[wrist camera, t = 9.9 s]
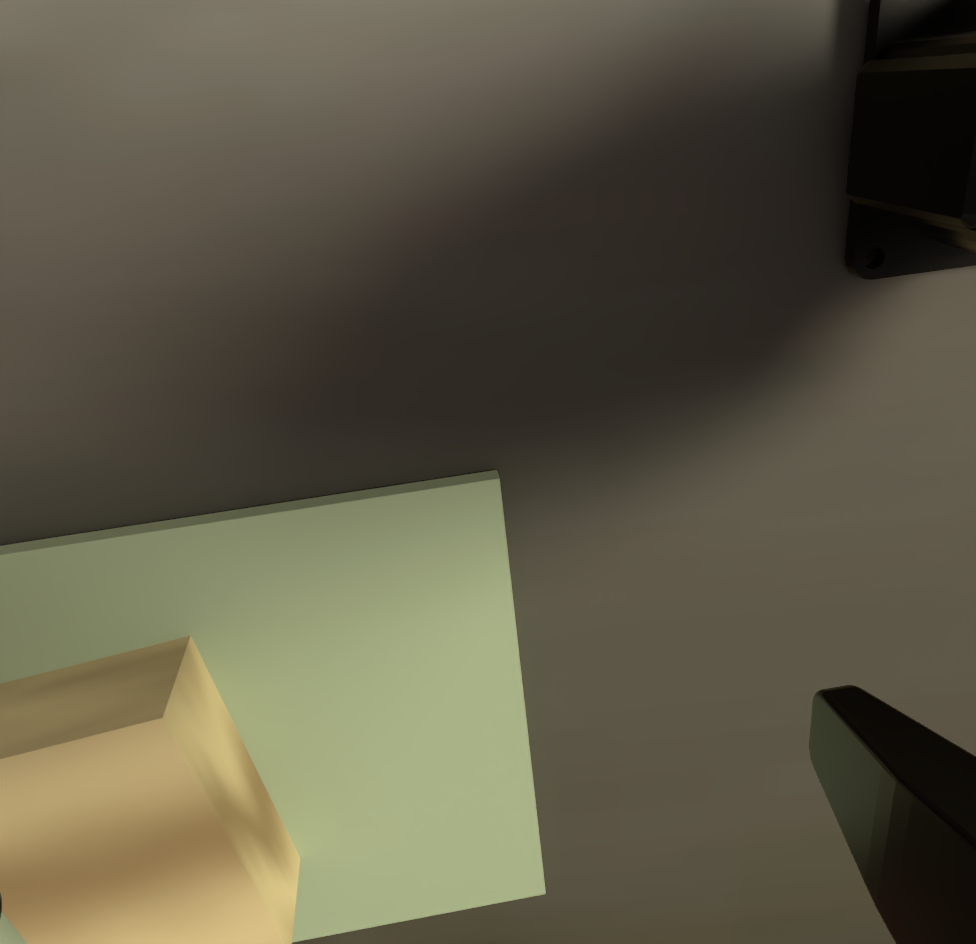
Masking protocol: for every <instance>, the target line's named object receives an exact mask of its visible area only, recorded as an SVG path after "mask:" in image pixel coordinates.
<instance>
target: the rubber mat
mask: <svg viewBox="0 0 976 944" xmlns="http://www.w3.org/2000/svg"><path fill="white" fill-rule="evenodd" d="M187 636H191V637H192V639H193V641H194V643H195V645H196V647H197V649H198V651H199V653H200V655H201V658H202V660H203V662H204V664H205V666H206V668H207V670H208V672H209V674H210V676H211V678H212V680H213V682H214V684H215V686H216V688H217V690H218V692H219V694H220V696H221V698H222V700H223V702H224V704H225V706H226V708H227V710H228V712H229V714H230V717H231V719H232V721H233V723H234V725H235V727H236V729H237V731H238V733H239V735H240V737H241V739H242V741H243V743H244V745H245V747H246V749H247V751H248V753H249V755H250V757H251V759H252V761H253V763H254V765H255V767H256V769H257V771H258V774H259V776H260V778H261V780H262V782H263V784H264V786H265V788H266V790H267V792H268V794H269V796H270V798H271V800H272V802H273V804H274V806H275V808H276V810H277V812H278V814H279V816H280V818H281V820H282V822H283V824H284V826H285V828H286V830H287V833H288V835H289V837H290V839H291V841H292V843H293V845H294V847H295V849H296V851H297V853H298V855H299V857H300V866H299V877H298V887H297V897H296V907H295V917H294V927H293V937H292V942H297V941H302V940H307V939H312V938H318V937H323V936H328V935H333V934H339V933H344V932H349V931H354V930H359V929H365V928H370V927H375V926H380V925H386V924H391V923H396V922H401V921H406V920H412V919H417V918H422V917H427V916H433V915H438V914H443V913H448V912H453V911H459V910H464V909H469V908H474V907H480V906H485V905H490V904H495V903H500V902H506V901H511V900H516V899H521V898H527V897H532V896H537V895H542V894H546V892H545V883H544V874H543V865H542V856H541V847H540V838H539V829H538V820H537V811H536V802H535V793H534V784H533V775H532V766H531V757H530V748H529V739H528V730H527V721H526V712H525V703H524V694H523V685H522V676H521V667H520V658H519V649H518V640H517V631H516V622H515V613H514V604H513V595H512V586H511V577H510V568H509V559H508V550H507V541H506V532H505V523H504V514H503V505H502V496H501V487H500V478H499V475H498V472H497V470H492V471H486V472H479V473H473V474H466V475H460V476H453V477H447V478H440V479H434V480H427V481H421V482H414V483H407V484H401V485H394V486H388V487H381V488H375V489H368V490H362V491H355V492H349V493H342V494H335V495H329V496H322V497H316V498H309V499H303V500H296V501H290V502H283V503H277V504H270V505H264V506H257V507H250V508H244V509H237V510H231V511H224V512H218V513H211V514H205V515H198V516H192V517H185V518H178V519H172V520H165V521H159V522H152V523H146V524H139V525H133V526H126V527H120V528H113V529H106V530H100V531H93V532H87V533H80V534H74V535H67V536H61V537H54V538H48V539H41V540H35V541H28V542H21V543H15V544H8V545H2V546H0V684H2V683H6V682H10V681H14V680H17V679H21V678H25V677H29V676H33V675H37V674H41V673H45V672H49V671H53V670H57V669H61V668H65V667H69V666H73V665H77V664H80V663H84V662H88V661H92V660H96V659H100V658H104V657H108V656H112V655H116V654H120V653H124V652H128V651H132V650H136V649H140V648H144V647H147V646H151V645H155V644H159V643H163V642H167V641H171V640H175V639H179V638H183V637H187ZM0 944H27V943H26V941H25V940H24V939H23V937H22V936H21V935H20V934H19V932H18V931H17V930H16V929H15V927H14V926H13V925H12V924H11V922H10V921H9V920H8V919H7V917H6V916H5V915H4V914H3V912H2V913H1V918H0Z"/></svg>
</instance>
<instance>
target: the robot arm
mask: <svg viewBox="0 0 976 944" xmlns="http://www.w3.org/2000/svg"><path fill="white" fill-rule="evenodd" d="M846 193H847V195H848V196H849V197H850V209H849V219H848V229H847V239H846V250H845V266H846V267H847V269H848V271H849V272H850V273H852V274H853V275H855V276H858V277H860V278H863V279H871V280H873V279H880V278H887V277H894V276H901V275H908V274H915V273H922V272H930V271H937V270H944V269H951V268H958V267H965V266H972V265H976V0H870V4H869V14H868V24H867V35H866V45H865V55H864V65H863V68H862V69H861V71H860V72H859V74H858V75H857V82H856V92H855V103H854V114H853V124H852V135H851V145H850V156H849V166H848V177H847V187H846ZM871 248H875V256H874V259H873V260H872V261H871V262H870V263H869V264H867V265H865V264H864V258H865V255H866V253H867V252H868V251H869V250H870V249H871ZM809 750H810V756H811V760H812V763H813V766H814V769H815V771H816V773H817V776H818V778H819V780H820V783H821V785H822V787H823V789H824V792H825V794H826V796H827V798H828V801H829V803H830V805H831V807H832V810H833V812H834V814H835V816H836V819H837V821H838V823H839V826H840V828H841V830H842V832H843V835H844V837H845V839H846V841H847V844H848V846H849V848H850V850H851V853H852V855H853V857H854V859H855V862H856V864H857V866H858V869H859V871H860V873H861V875H862V878H863V880H864V882H865V884H866V886H867V889H868V891H869V893H870V895H871V897H872V899H873V901H874V903H875V906H876V908H877V909H878V911H879V913H880V915H881V917H882V919H883V921H884V922H885V924H886V926H887V928H888V930H889V932H890V933H891V935H892V937H893V939H894V941H895V942H896V944H976V756H974V755H973V754H971V753H969V752H967V751H966V750H964V749H962V748H961V747H959V746H957V745H956V744H954V743H952V742H951V741H949V740H947V739H946V738H944V737H942V736H940V735H939V734H937V733H935V732H934V731H932V730H930V729H929V728H927V727H925V726H924V725H922V724H920V723H919V722H917V721H915V720H914V719H912V718H910V717H908V716H907V715H905V714H903V713H902V712H900V711H898V710H897V709H895V708H893V707H892V706H890V705H888V704H887V703H885V702H883V701H881V700H880V699H878V698H876V697H875V696H873V695H871V694H870V693H868V692H866V691H865V690H863V689H861V688H859V687H856V686H853V685H846V686H840V687H834V688H829V689H823V690H820V691H818V692H817V693H816V694H815V696H814V699H813V705H812V716H811V728H810V740H809ZM1 913H2V897H1V893H0V918H1Z"/></svg>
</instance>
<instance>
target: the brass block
mask: <svg viewBox="0 0 976 944" xmlns="http://www.w3.org/2000/svg"><path fill="white" fill-rule="evenodd" d="M299 866H300V857H299V855H298V853H297V851H296V849H295V847H294V845H293V843H292V841H291V839H290V837H289V835H288V833H287V830H286V828H285V826H284V824H283V822H282V820H281V818H280V816H279V814H278V812H277V810H276V808H275V806H274V804H273V802H272V800H271V798H270V796H269V794H268V792H267V790H266V788H265V786H264V784H263V782H262V780H261V778H260V776H259V774H258V771H257V769H256V767H255V765H254V763H253V761H252V759H251V757H250V755H249V753H248V751H247V749H246V747H245V745H244V743H243V741H242V739H241V737H240V735H239V733H238V731H237V729H236V727H235V725H234V723H233V721H232V719H231V717H230V714H229V712H228V710H227V708H226V706H225V704H224V702H223V700H222V698H221V696H220V694H219V692H218V690H217V688H216V686H215V684H214V682H213V680H212V678H211V676H210V674H209V672H208V670H207V668H206V666H205V664H204V662H203V660H202V658H201V655H200V653H199V651H198V649H197V647H196V645H195V643H194V641H193V639H192V637H191V636H187V637H183V638H179V639H175V640H171V641H167V642H163V643H159V644H155V645H151V646H147V647H144V648H140V649H136V650H132V651H128V652H124V653H120V654H116V655H112V656H108V657H104V658H100V659H96V660H92V661H88V662H84V663H80V664H77V665H73V666H69V667H65V668H61V669H57V670H53V671H49V672H45V673H41V674H37V675H33V676H29V677H25V678H21V679H17V680H14V681H10V682H6V683H2V684H0V893H1V897H2V912H3V914H4V915H5V916H6V917H7V919H8V920H9V921H10V922H11V924H12V925H13V926H14V927H15V929H16V930H17V931H18V932H19V934H20V935H21V936H22V937H23V939H24V940H25V941H26V943H27V944H292V937H293V927H294V917H295V907H296V897H297V887H298V877H299Z"/></svg>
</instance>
